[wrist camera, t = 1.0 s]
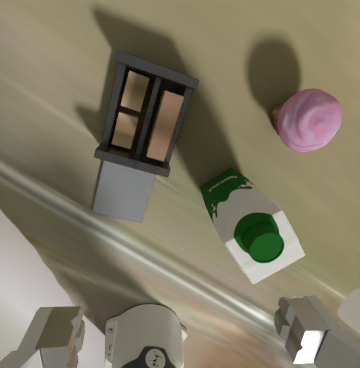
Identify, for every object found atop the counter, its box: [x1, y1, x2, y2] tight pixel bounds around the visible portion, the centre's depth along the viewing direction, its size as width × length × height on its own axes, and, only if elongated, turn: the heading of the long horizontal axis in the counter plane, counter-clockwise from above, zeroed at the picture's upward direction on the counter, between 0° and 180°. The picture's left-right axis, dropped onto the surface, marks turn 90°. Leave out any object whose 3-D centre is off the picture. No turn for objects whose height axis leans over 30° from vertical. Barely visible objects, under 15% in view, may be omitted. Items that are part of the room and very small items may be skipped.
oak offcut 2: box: [112, 111, 139, 149], centre depth 39 cm, size 5×3×2 cm, turn 162°
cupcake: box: [272, 89, 342, 151], centre depth 37 cm, size 9×9×10 cm
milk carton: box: [200, 168, 305, 284], centre depth 37 cm, size 9×9×20 cm
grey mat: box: [92, 160, 156, 223], centre depth 43 cm, size 10×9×1 cm
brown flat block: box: [147, 90, 184, 161], centre depth 36 cm, size 9×2×8 cm, turn 162°
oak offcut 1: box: [121, 71, 150, 112], centre depth 37 cm, size 5×3×2 cm, turn 161°
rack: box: [94, 50, 199, 177], centre depth 37 cm, size 14×11×6 cm
